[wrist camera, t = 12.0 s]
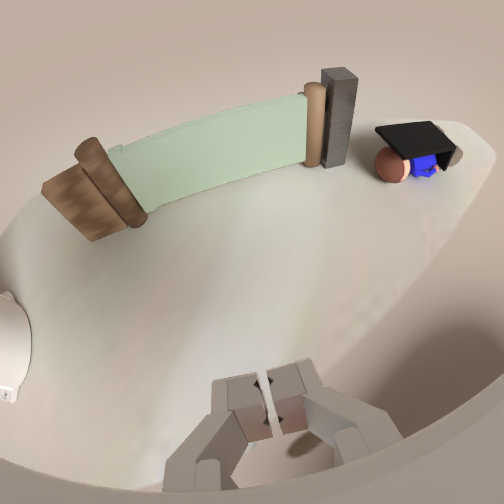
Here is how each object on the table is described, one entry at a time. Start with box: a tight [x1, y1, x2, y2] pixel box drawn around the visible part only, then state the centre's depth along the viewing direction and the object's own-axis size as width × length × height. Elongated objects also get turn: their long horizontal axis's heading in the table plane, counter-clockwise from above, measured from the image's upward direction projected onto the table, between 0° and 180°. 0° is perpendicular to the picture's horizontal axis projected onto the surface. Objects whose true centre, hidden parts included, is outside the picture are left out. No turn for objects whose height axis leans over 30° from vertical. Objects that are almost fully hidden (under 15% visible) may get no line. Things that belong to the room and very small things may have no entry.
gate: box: [108, 82, 326, 213], centre depth 31 cm, size 24×2×12 cm, turn 107°
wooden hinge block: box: [41, 137, 147, 242], centre depth 30 cm, size 10×3×14 cm, turn 107°
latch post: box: [298, 67, 358, 169], centre depth 31 cm, size 6×4×14 cm
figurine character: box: [375, 121, 463, 183], centre depth 32 cm, size 7×8×15 cm
